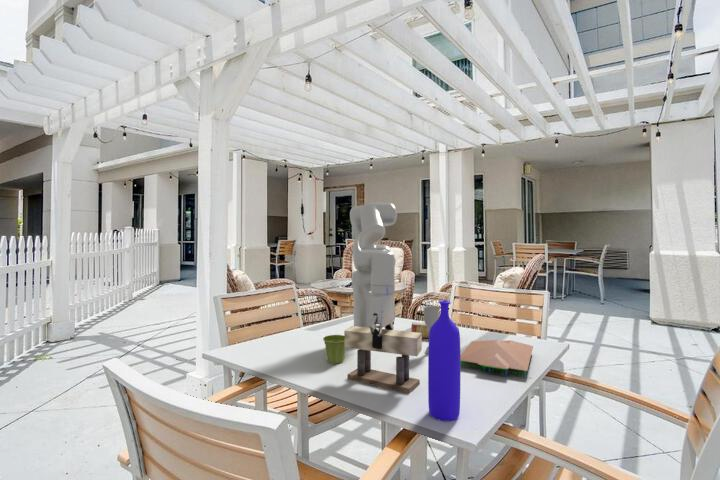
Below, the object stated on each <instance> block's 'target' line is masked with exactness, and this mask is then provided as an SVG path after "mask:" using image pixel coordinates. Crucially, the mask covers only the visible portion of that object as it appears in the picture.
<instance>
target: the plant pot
mask: <svg viewBox="0 0 720 480" xmlns="http://www.w3.org/2000/svg"><path fill="white" fill-rule="evenodd" d="M322 340H323V342H324V345H325V352H326V353H325V354H326V360H327V362H328V363H329V364H334V365H336V364H342V363H343V362H344V360H345V355H346V354H345V353H346V348H345V347H344V335H341V334H330V335H326V336H324V337H323V339H322Z"/></svg>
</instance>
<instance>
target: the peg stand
mask: <svg viewBox="0 0 720 480" xmlns="http://www.w3.org/2000/svg"><path fill="white" fill-rule="evenodd" d="M356 350H357V352H356V353H357V354H356V355H357V356H356V357H357V358H356V359H357V368H356V369H354V370H352V371H350V372H349V373H347V379H348V380H351V381H355V382H358V383H362V384H367V385H372V386H376V387H379V388H383V389H389V390H392V391H393V390H394V391H396V392H401V393H406V394H409V393H410V394H411V393H412V392H413V391H414V390H415V389H416V388H417V387H418V386H420V384H421V383H420V382H421V381H420V379H418V378H413V377H410V356H409V355H401V356H396V357H395V362H396V363H395V374H394V373H391V372H386V371H382V370H377V369H372V362H371V360H372V359H371V357H372V356H371V355H372V353H371V352H372V351H369V350H361V349H356Z"/></svg>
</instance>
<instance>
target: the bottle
mask: <svg viewBox="0 0 720 480" xmlns="http://www.w3.org/2000/svg"><path fill="white" fill-rule="evenodd" d="M438 304H439V305H440V313H439V319H438V320H437V321H436V322H435V323H434V324H433V325H432V327H431V328H430V332H429V338H428V346H429V352H428V354H427V355H428V356H427V357H428V360H427V362H428V363H427V365H428V366H427V367H428V370H427V372H428V373H427V375H428V376H427V378H428V379H427V380H428V382H427V385H428V387H427V388H428V389H427V394H428V399H427V400H428V401H427V402H428V412H429V413H428V414H429V415H430V416H431V417H432V418H433V419H436V420H438V421H443V422H452V421H456V420H457V419H458V418H459V416H460V411H461V367H460V355H461V335H460V333H461V332H460V329H459V330H458V328H459V327H458V328H457V327H456V324H455V322H454V321H453V320H452V319H451V318H450V314H449V305H450V304H451V301H449V300H442V299H441V300H438Z"/></svg>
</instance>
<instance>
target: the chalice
mask: <svg viewBox="0 0 720 480" xmlns="http://www.w3.org/2000/svg"><path fill="white" fill-rule="evenodd" d="M422 309H423V321H424V323H425V324H426V326H427V329H428V330H429V331H430V328H431V327H432V325H433V324H434V323H435V322H436V321H437V320H438V319H439V317H440V311H441V306H440V307H439V306H435V305H426V306H423V307H422ZM428 352H429V345H428V346H427V347H426V349H425V351H424V353H425V354H426V355H428Z"/></svg>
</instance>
